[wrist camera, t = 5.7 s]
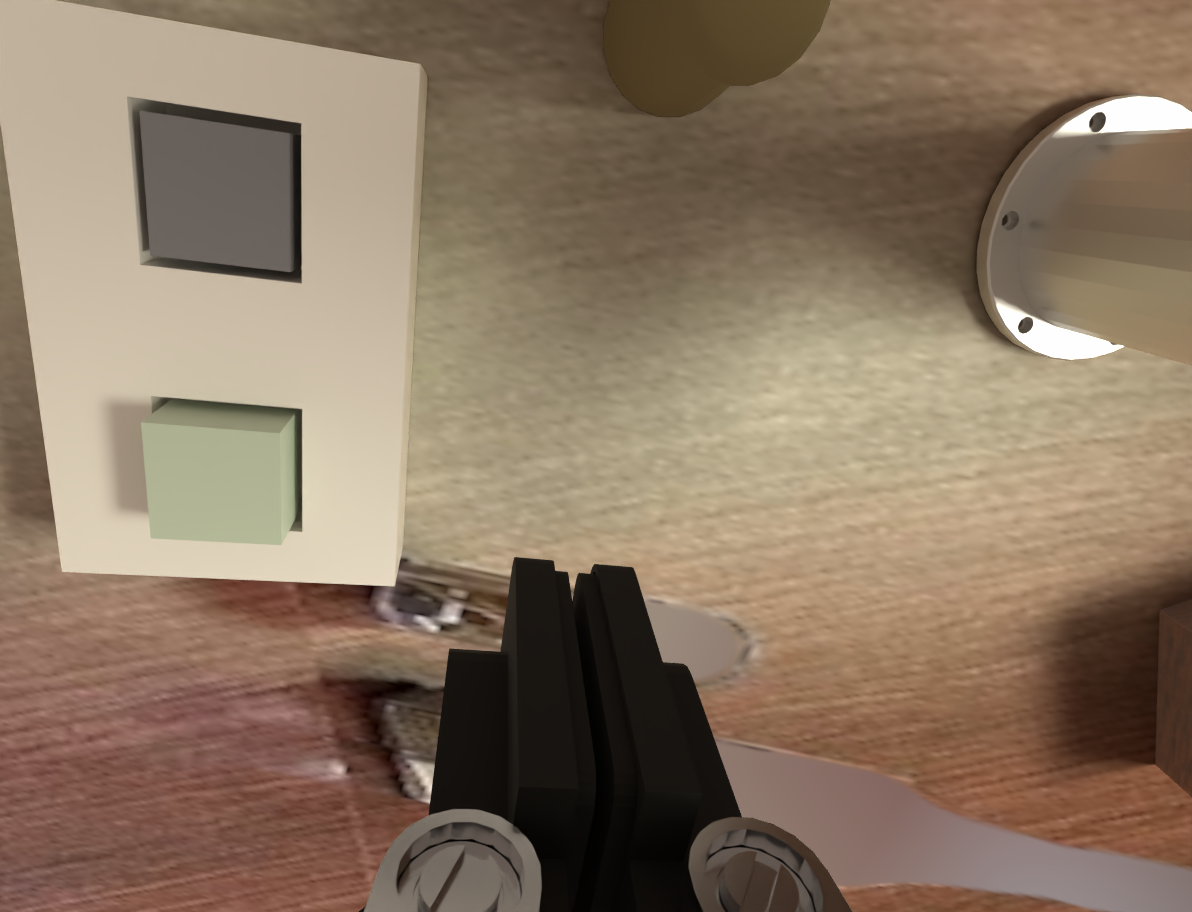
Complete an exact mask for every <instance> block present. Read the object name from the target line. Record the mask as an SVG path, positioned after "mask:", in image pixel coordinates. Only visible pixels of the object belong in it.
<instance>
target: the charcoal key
mask: <svg viewBox="0 0 1192 912" xmlns="http://www.w3.org/2000/svg"><path fill="white" fill-rule="evenodd" d="M139 114H140V128H141V141H142V154H143V168H144V181H145V194H146V208H147V221H148V234H149V248H150V256H158V257H166V258H175V259H183V260H191V261H200V262H208V263H217V264H225V265H234V266H242V267H250V268H259V269H267V270H276V271H284V272H292V271H294V270H295V269H297V268H299V267H301V266H302V185H301V135H297V134H290V133H284V132H277V131H271V130H264V129H258V128H251V127H245V126H238V125H231V124H225V123H218V122H212V121H205V120H199V119H192V118H186V117H179V116H172V115H166V114H159V113H153V112H146V111H140V110H139Z"/></svg>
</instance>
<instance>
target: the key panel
mask: <svg viewBox="0 0 1192 912" xmlns="http://www.w3.org/2000/svg"><path fill="white" fill-rule="evenodd" d="M427 84H428V76H427V74H426V72H425V71H424V69H423V68H422V66H421V64H418V63H412V62H406V61H401V60H395V59H389V58H383V57H378V56H372V55H366V54H361V53H355V52H349V51H343V50H338V49H332V48H326V47H320V46H315V45H309V44H303V43H298V42H292V41H286V40H280V39H275V38H269V37H263V36H258V35H252V34H246V33H240V32H235V31H229V30H223V29H218V28H212V27H206V26H200V25H195V24H189V23H183V22H177V21H172V20H166V19H160V18H155V17H149V16H143V15H137V14H132V13H126V12H120V11H115V10H109V9H103V8H97V7H92V6H86V5H80V4H75V3H69V2H63V1H57V0H0V124H1V131H2V138H3V146H4V153H5V160H6V168H7V175H8V182H9V189H10V197H11V204H12V211H13V218H14V226H15V233H16V240H17V247H18V255H19V262H20V269H21V277H22V284H23V291H24V298H25V306H26V313H27V320H28V327H29V335H30V342H31V349H32V357H33V364H34V371H35V378H36V386H37V393H38V400H39V407H40V415H41V422H42V429H43V437H44V444H45V451H46V458H47V466H48V473H49V480H50V487H51V495H52V502H53V509H54V516H55V524H56V531H57V538H58V546H59V553H60V560H61V567H62V572H79V573H102V574H125V575H148V576H172V577H195V578H218V579H241V580H264V581H287V582H310V583H333V584H356V585H379V586H395V582H396V577H397V572H398V567H399V562H400V558H401V553H402V548H403V538H404V519H405V500H406V481H407V462H408V443H409V424H410V405H411V386H412V367H413V348H414V330H415V311H416V292H417V273H418V254H419V235H420V216H421V197H422V178H423V159H424V140H425V121H426V103H427ZM139 110H140V111H146V112H153V113H159V114H166V115H172V116H179V117H186V118H192V119H199V120H205V121H212V122H218V123H225V124H231V125H238V126H245V127H251V128H258V129H264V130H271V131H277V132H284V133H290V134H297V135H301V185H302V266H301V267H299V268H297V269H295V270H294V271H292V272H284V271H276V270H267V269H259V268H250V267H242V266H234V265H225V264H217V263H208V262H200V261H191V260H183V259H175V258H166V257H158V256H150V248H149V234H148V221H147V208H146V194H145V181H144V168H143V154H142V141H141V128H140V114H139ZM171 399H178V400H190V401H202V402H214V403H225V404H237V405H249V406H261V407H272V408H284V409H296V410H298V515H297V517H296V519H295V520H294V522H293V524H292V526H291V528H290V530H289V532H288V534H287V536H286V537H285V539H284V541H283V543H282V545H268V544H249V543H229V542H210V541H191V540H172V539H153V538H151V535H150V524H149V512H148V500H147V489H146V477H145V466H144V454H143V442H142V431H141V422H142V421H143V420H145V419H146V418H147V417H149V416H150V415H151V414H153V413H154V412H155V411H156V410H158V409H159V408H160V407H162V406H163V405H164V404H166V403H167V402H168V401H170V400H171Z"/></svg>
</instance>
